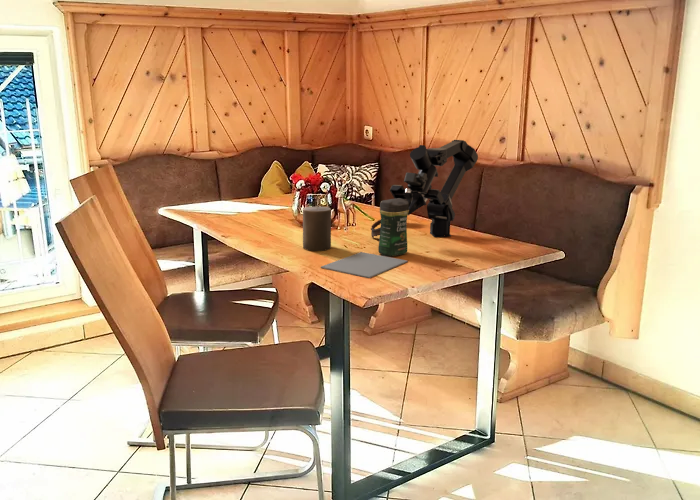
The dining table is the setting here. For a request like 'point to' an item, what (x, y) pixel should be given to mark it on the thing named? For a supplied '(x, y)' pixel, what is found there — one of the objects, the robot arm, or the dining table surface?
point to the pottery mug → (375, 231)
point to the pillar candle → (316, 228)
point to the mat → (364, 264)
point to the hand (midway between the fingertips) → (406, 214)
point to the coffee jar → (393, 227)
